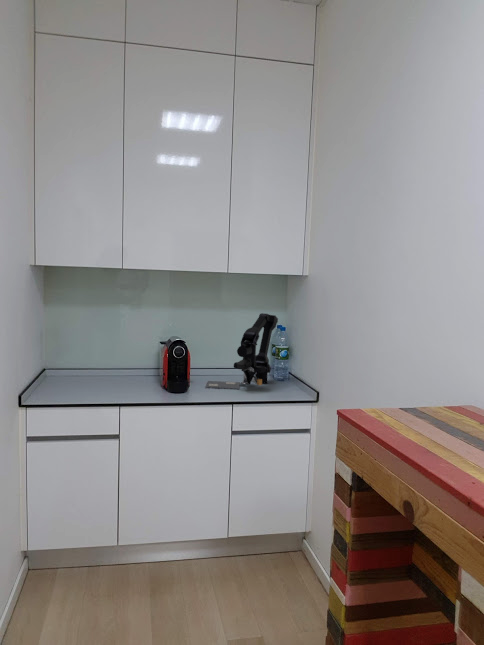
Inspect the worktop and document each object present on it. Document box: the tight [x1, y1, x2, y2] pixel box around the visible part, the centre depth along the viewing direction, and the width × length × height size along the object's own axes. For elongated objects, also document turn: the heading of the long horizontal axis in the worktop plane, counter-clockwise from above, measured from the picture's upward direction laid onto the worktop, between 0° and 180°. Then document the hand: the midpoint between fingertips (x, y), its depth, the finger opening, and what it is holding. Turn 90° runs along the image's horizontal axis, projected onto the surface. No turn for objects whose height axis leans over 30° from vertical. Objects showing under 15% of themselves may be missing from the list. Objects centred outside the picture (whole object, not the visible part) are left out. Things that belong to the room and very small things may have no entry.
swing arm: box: [242, 372, 263, 386], centre depth 272 cm, size 19×2×6 cm, turn 25°
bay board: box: [204, 380, 241, 390], centre depth 272 cm, size 18×14×1 cm
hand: (249, 383), depth 268 cm, fingers closed
